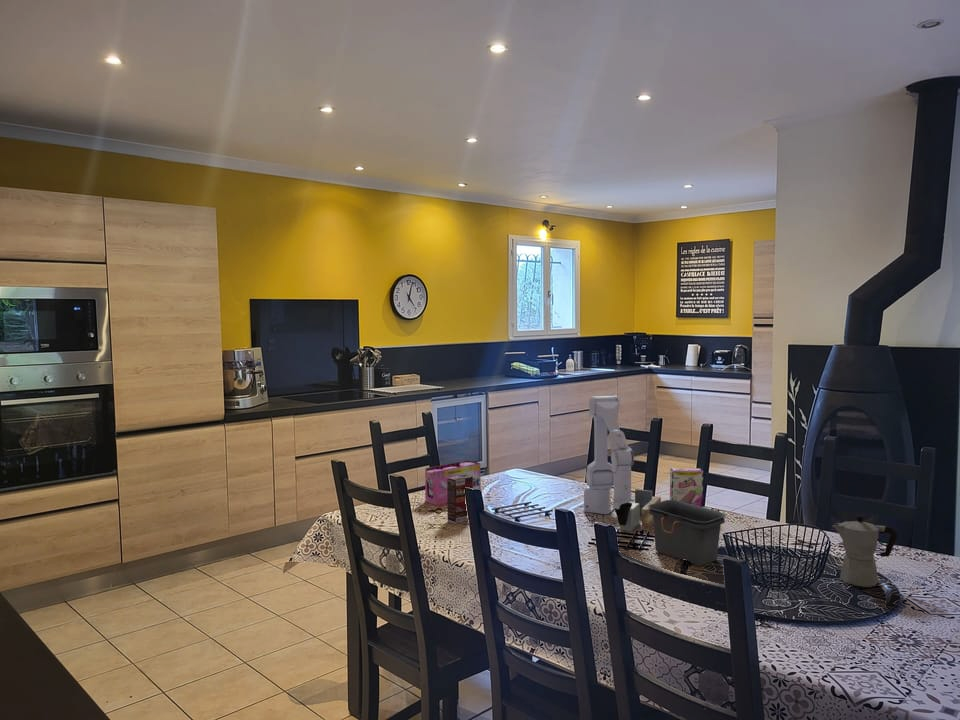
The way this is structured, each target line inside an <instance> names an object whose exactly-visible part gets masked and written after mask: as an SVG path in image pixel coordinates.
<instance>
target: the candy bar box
mask: <svg viewBox="0 0 960 720" xmlns="http://www.w3.org/2000/svg"><path fill="white" fill-rule="evenodd" d="M669 469H670V470H669V473H670V474H669V500H677V501H682V502H685V503H689V504H692V505H696V506H700V507H703V508H704V504H703V503H704V470H702V468H688V467H687V468H686V467H685V468H684V467H670V468H669Z"/></svg>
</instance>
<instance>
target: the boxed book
mask: <svg viewBox="0 0 960 720" xmlns="http://www.w3.org/2000/svg"><path fill="white" fill-rule="evenodd" d="M628 503H632V506H631V508H630V511H629V514H628V518H627V523H626V525H625V526H624V525H619V531H625V530H626V531H627V532H632V531H633V530H635V529H636V528H637V527H638V526H639V524H640V521H641V519H640V518H641V517H640V516H641V515H640V504H639V503H635V502H628Z"/></svg>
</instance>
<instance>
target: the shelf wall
mask: <svg viewBox="0 0 960 720" xmlns="http://www.w3.org/2000/svg"><path fill="white" fill-rule="evenodd" d="M661 501H662V496H654V497H652V500H651V501H650V502H649V503H648V504H647V505H646V506H644V507H643V508H642V515H641V530H645V531H648V530H649V529H650V528H651V527H652V526H654V522H653V515H651V514H650V513H649V510H650V508H649V507H648V506H649V505H650V504H654V503H658V502H661Z"/></svg>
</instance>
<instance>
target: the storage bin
mask: <svg viewBox="0 0 960 720" xmlns="http://www.w3.org/2000/svg"><path fill="white" fill-rule="evenodd" d="M648 507H649V508H650V510H649V513H650V514H651V515H653V522H654V524H653V531H654V532H653V533H654V535H653V536H654V546H655V551H656V552H658V553H661V554H664V555H666V556H670V557H673V558H675V559H678V560H681V559H687V560H688V561H690V562H691V563H690V564H692V565H694V566H697V567H701V566H705V565H707V564H710V563H713V562H715V561H717V559H718V552H719V542H720V535H721V534H720V533H721V527H722V526H721V525H724V524H726V523H725V522H726V521H725V517H726V516H727V514H725V513H724V512H721V511H716V510H713V509H710V508H707V507H704V506H703V507H700V506H696V505H692V504H689V503H685V502H682V501H677V500H670V499H667V500H663V501H662V500H661V502H658V503H654V504H650V505H649V506H648Z"/></svg>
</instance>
